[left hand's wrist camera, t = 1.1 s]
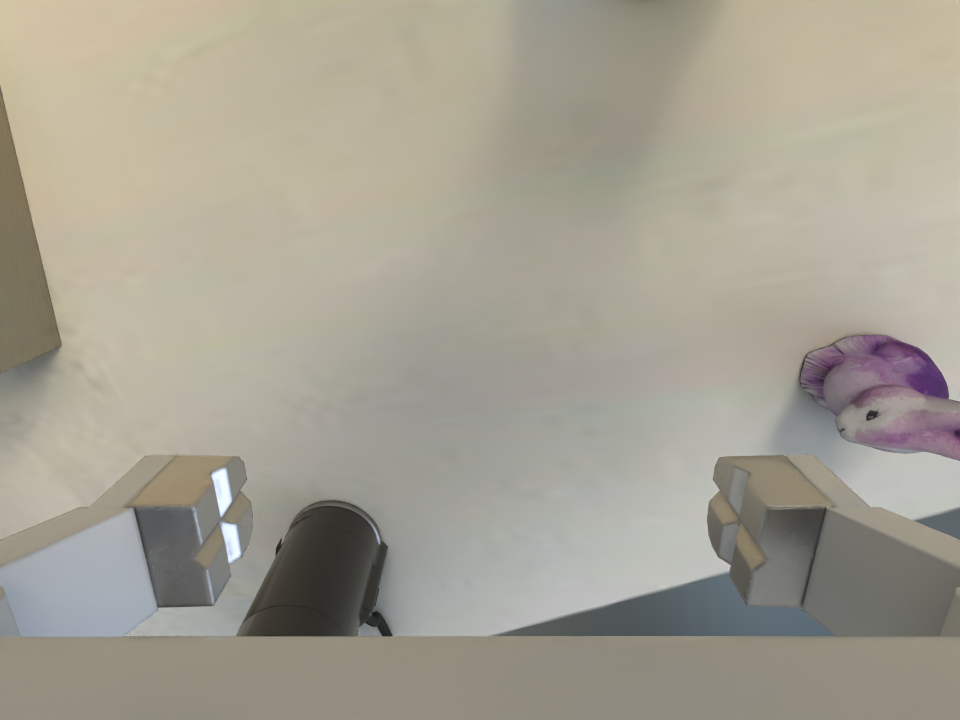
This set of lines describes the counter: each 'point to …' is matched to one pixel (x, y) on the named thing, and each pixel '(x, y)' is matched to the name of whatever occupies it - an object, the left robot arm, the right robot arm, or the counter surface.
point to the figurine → (885, 395)
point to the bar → (20, 268)
